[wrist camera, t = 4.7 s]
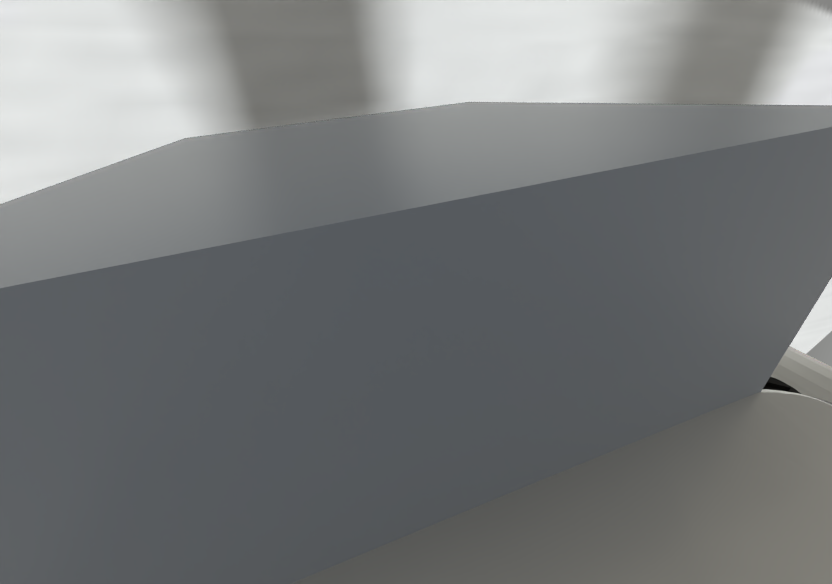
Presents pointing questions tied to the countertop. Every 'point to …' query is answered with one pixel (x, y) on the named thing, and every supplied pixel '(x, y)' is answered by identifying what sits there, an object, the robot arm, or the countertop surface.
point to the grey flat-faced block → (382, 323)
